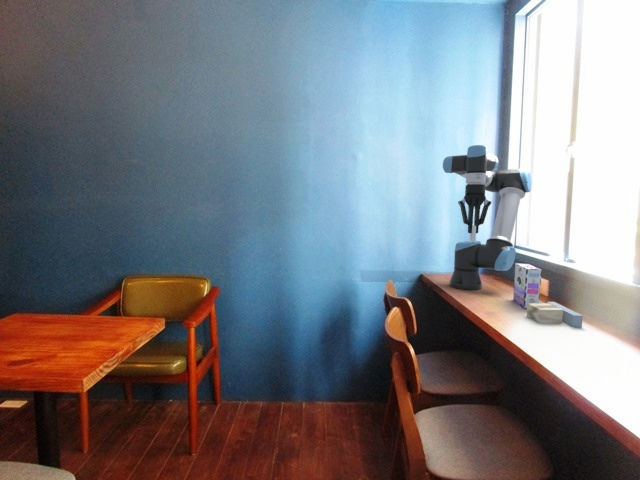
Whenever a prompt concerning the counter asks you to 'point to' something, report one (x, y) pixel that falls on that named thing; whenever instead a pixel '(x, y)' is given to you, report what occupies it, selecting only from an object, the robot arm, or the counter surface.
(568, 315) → the blue-grey bar
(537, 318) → the block
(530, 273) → the candy box
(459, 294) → the counter surface
